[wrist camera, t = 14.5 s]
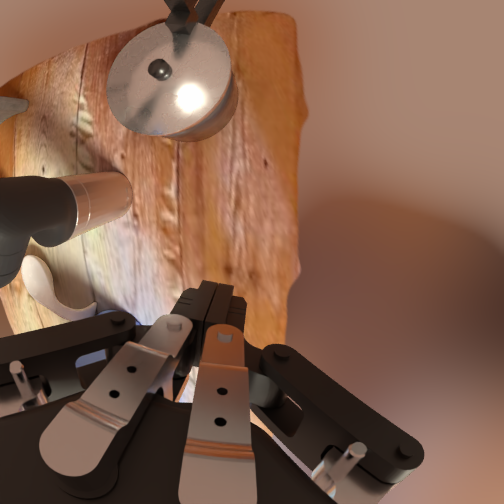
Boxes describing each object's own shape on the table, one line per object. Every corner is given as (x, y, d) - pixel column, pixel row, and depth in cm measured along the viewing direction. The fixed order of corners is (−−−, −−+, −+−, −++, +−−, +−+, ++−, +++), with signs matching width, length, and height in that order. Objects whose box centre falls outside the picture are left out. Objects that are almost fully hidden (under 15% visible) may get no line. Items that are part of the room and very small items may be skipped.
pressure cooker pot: (219, 153, 44) (202, 148, 32) (137, 130, 43) (99, 121, 31) (267, 36, 37) (268, -2, 25) (185, 19, 36) (165, -15, 24)
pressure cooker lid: (205, 150, 31) (188, 145, 24) (96, 124, 30) (62, 118, 23) (270, -8, 24) (272, -40, 16) (163, -19, 23) (146, -46, 15)
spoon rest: (28, 281, 54) (11, 292, 47) (30, 242, 51) (11, 251, 44) (94, 326, 56) (79, 342, 49) (101, 288, 53) (84, 302, 46)
